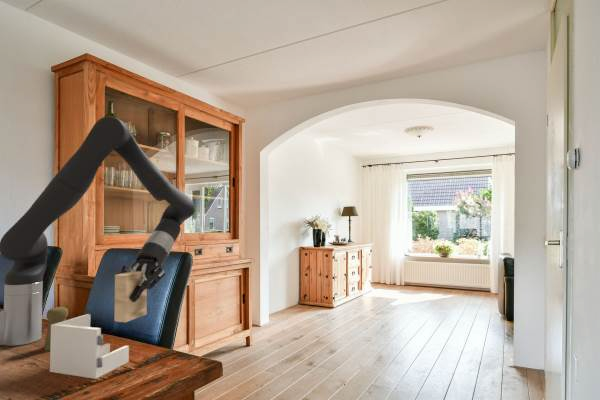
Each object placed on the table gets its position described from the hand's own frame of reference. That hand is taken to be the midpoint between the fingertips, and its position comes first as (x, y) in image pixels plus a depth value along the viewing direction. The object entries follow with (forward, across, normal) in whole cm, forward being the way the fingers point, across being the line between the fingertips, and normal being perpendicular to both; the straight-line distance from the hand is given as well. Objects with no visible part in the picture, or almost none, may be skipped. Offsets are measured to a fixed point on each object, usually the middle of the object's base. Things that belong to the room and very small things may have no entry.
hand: (125, 299), depth 99 cm
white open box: (+16, -3, +5) cm, 17 cm away
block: (+2, 0, +5) cm, 6 cm away
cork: (+10, -24, +11) cm, 29 cm away
